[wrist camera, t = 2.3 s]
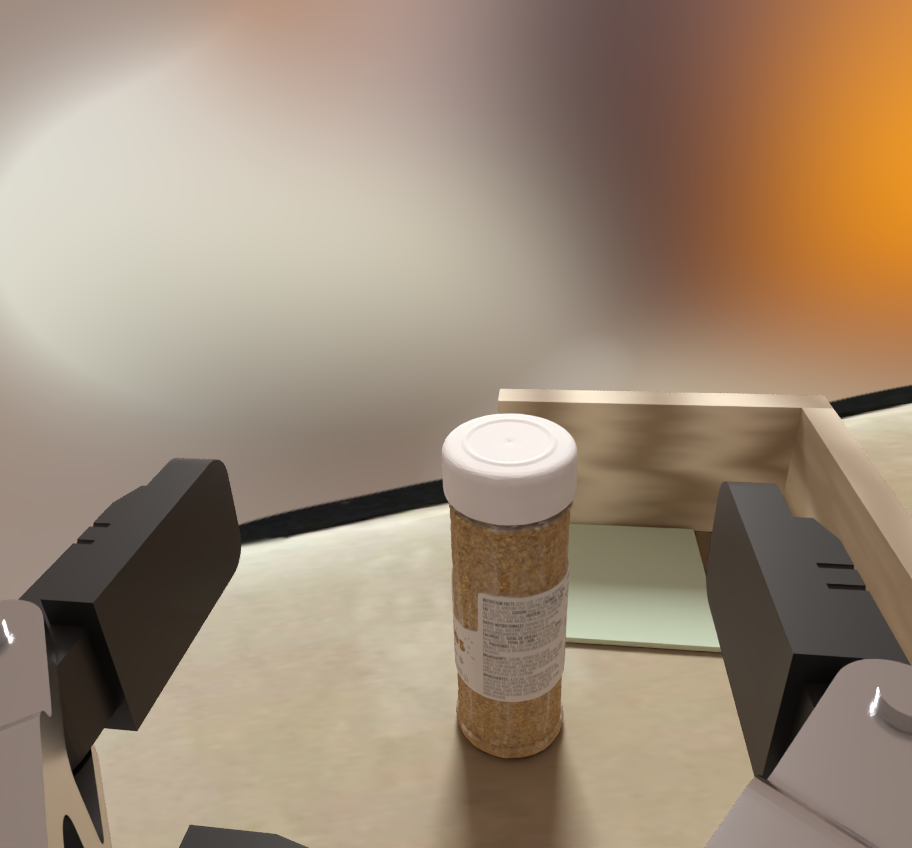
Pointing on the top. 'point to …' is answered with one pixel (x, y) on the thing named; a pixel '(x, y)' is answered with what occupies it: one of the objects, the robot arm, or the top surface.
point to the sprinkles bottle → (510, 576)
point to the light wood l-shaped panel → (731, 471)
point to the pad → (638, 588)
